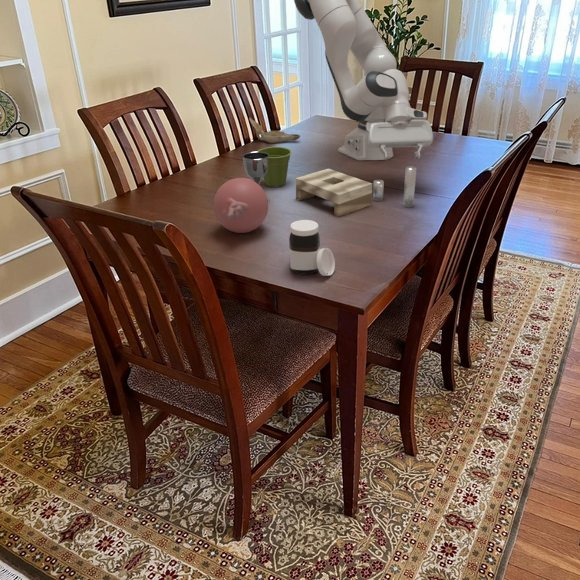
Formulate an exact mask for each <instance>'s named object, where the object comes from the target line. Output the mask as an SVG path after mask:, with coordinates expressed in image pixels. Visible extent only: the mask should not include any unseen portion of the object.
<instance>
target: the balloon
mask: <svg viewBox="0 0 580 580" xmlns="http://www.w3.org/2000/svg"><path fill="white" fill-rule="evenodd" d="M267 198H268V197H267V194H266V192H265V191H264V189H263V187H262V186H261V185H258V184H257V183H256V182H254V181H253V180H252V179H251V178H246V177H236V178H231V179H229V180H227V181H226V182H224V183H223V184H222V185H221V186H220V187H219V188H218V189H217V191H216V193H215V195H214V198H213V212H214V215H215V218H216V219H217V221H218V222H219V224H220V225H221V226H222V227H224V228H225V229H227V230H228V231H231V232H232V233H236V234H245V233H246V234H247V233H250V232H252V231H254V230H256V229H257V228H259V227H260V226H261V225H262V224H263V223H264V221H265V219H266V218H267V216H268V211H269V202H268V199H269V198H268V199H267Z"/></svg>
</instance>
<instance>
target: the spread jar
mask: <svg viewBox="0 0 580 580" xmlns="http://www.w3.org/2000/svg"><path fill="white" fill-rule="evenodd" d="M288 245H289V246H288V248H289V252H288V253H289V267H290V270H291V271H292V272H294V273H296V272H297V273H296V274H299V273H310V274H313V273H315V272H319V274H320V275H321V276H322V277H326V276H327V277H328V276H332V275H333V274H334V272H335V268H336V261H335V256H334V253H333V252H332V250H331V249H330V248H328V247H322V248H321V236H320V232H319V224H318V223H317V222H316V221H314V220H310V219H300V220H296V221H292V223H290V233H289V237H288ZM312 272H313V273H312ZM327 273H328V274H327Z"/></svg>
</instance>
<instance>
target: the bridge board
mask: <svg viewBox="0 0 580 580" xmlns="http://www.w3.org/2000/svg"><path fill="white" fill-rule="evenodd" d="M315 195H316V196H317V197H319V198H322V199H324V200H327V201H330V202H332V203H334V205H333V208H334V209H333V210H334V211H333V215H334V216H335V217H338V218H339V217H343V216H344V215H345V216H346V215H347V214H351V213H352V212H356V211H359V210H361V209H364V208H367V207H369V206H372V203H373V202H372V200H373V183H371V182H369V181H366V180H363V179H360V178H358V177H355V176H351V175H348V174H345V173H342V172H340V171H336V170H334V169H331V168H326V169H323V170H319V171H315V172H312V173H309V174H305V175H303V176H302V175H301V176H298V177H295V199H296V200H297V199H299V200H298V201H300V200H301V201H303V200H302V199H304V200H306V199H305V198H307V199H310V198H312V196H313V197H316V196H315ZM309 197H310V198H309ZM350 212H351V213H350Z"/></svg>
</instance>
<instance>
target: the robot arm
mask: <svg viewBox="0 0 580 580" xmlns="http://www.w3.org/2000/svg"><path fill="white" fill-rule="evenodd" d="M293 3H294V5H295V8H296V10H297V11H298V13H299V14H300V15H301V16H302V18H304V19H306V20H310V21H311V20H315V21H316V24H317V26H318V28H319V30H320V32H321V35H322V39H323V43H324V48H325V50H324V53H325V54H324V56H325V60H326V63H327V65H328V68H329V71H330V74H331V76H332V80H333V82H334V84H335V88H336V90H337V93H338V95H339V101H340V104H341V105H340V106H341V109H342V111H343V114H344V115H345V116H346V117H347V118H348V119H350V120H351V121H355V122H356V123H358V124H357V127H356V128H354V129H352V131H351V132H349V133H348V134H346V135H345V138H344V143H343V145H341V146H340V147H338V148H337V151H338V152H339V153H341V154H344V155H345V156H347V157H350V158H351V159H354V160H356V161H386V160H387V161H388V160H389V161H390V159H392V157H394V151H393V148H412V147H415V148H416V150H417V151H414V152H413V158H414V159H420V158H421V150H422V149H423V147H429V146H431V144H432V143H433V140H434V134H433V129H432V125H431V123H430V122H429V120H427V118H428V113H427V112H426V111H424V110H423V111H422V110H419V109H415V108H412V107H411V105H410V89H409V85H408V81H407V78H406V76H405V74H404V73H403V71H401V70H399V69H397V64H398V63H397V60H396V57H395V56H394V54H393V53H391V51H390V49H388V47H387V46H386V43H385V42H384V40H383V39H382V37H381V36H380V34H379V32H378V30H377V28H376V27H375V25H374V24H373V22H372V21H371V19H370V17H369V16H368V14H367V12H366V11H365V9H364V8H363V6H362V4H361V3H360V1H359V0H293ZM350 51H351V53H352V55H353V56H354V57H355V59H356V60H357V62H358V63H359V65H360V66H361V68H362V70H363V71H364V75H363V76H364V77H362V78H361V79H360V81H358V83H357V84H355V82H354V78H353V76H352V73H351V71H350V68H349V63H348V62H349V61H348V60H349V59H348V58H349V53H350Z"/></svg>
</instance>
